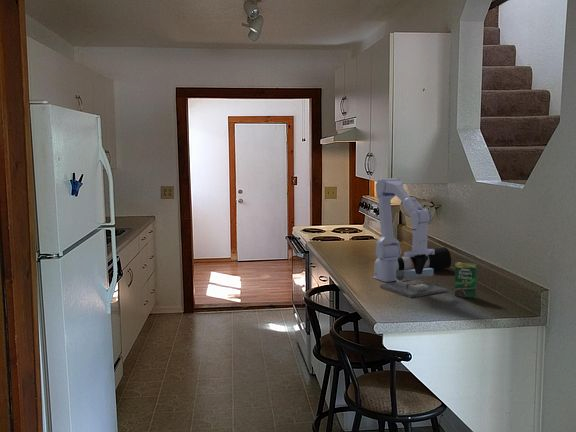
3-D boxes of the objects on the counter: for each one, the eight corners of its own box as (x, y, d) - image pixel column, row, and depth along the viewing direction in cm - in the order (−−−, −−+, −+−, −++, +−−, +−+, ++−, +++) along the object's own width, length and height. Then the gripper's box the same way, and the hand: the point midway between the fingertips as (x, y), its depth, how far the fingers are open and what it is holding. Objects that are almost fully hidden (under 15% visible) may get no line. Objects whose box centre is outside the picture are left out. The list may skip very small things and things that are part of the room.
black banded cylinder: (377, 280, 252) (373, 259, 255) (445, 270, 257) (439, 250, 260) (383, 275, 242) (378, 254, 246) (453, 264, 247) (447, 244, 251)
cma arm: (398, 279, 221) (398, 272, 221) (394, 277, 224) (394, 270, 224) (434, 275, 227) (434, 269, 227) (429, 274, 230) (429, 267, 230)
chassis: (380, 287, 221) (380, 280, 221) (414, 281, 230) (415, 274, 230) (410, 297, 206) (411, 290, 205) (446, 291, 215) (446, 284, 215)
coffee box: (453, 295, 208) (454, 262, 207) (455, 294, 211) (456, 261, 209) (474, 299, 204) (476, 265, 203) (476, 297, 207) (478, 263, 205)
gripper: (413, 242, 204) (412, 277, 206) (440, 239, 212) (439, 273, 213) (400, 240, 210) (399, 274, 212) (427, 237, 218) (426, 270, 219)
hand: (418, 273), depth 213 cm, fingers closed
